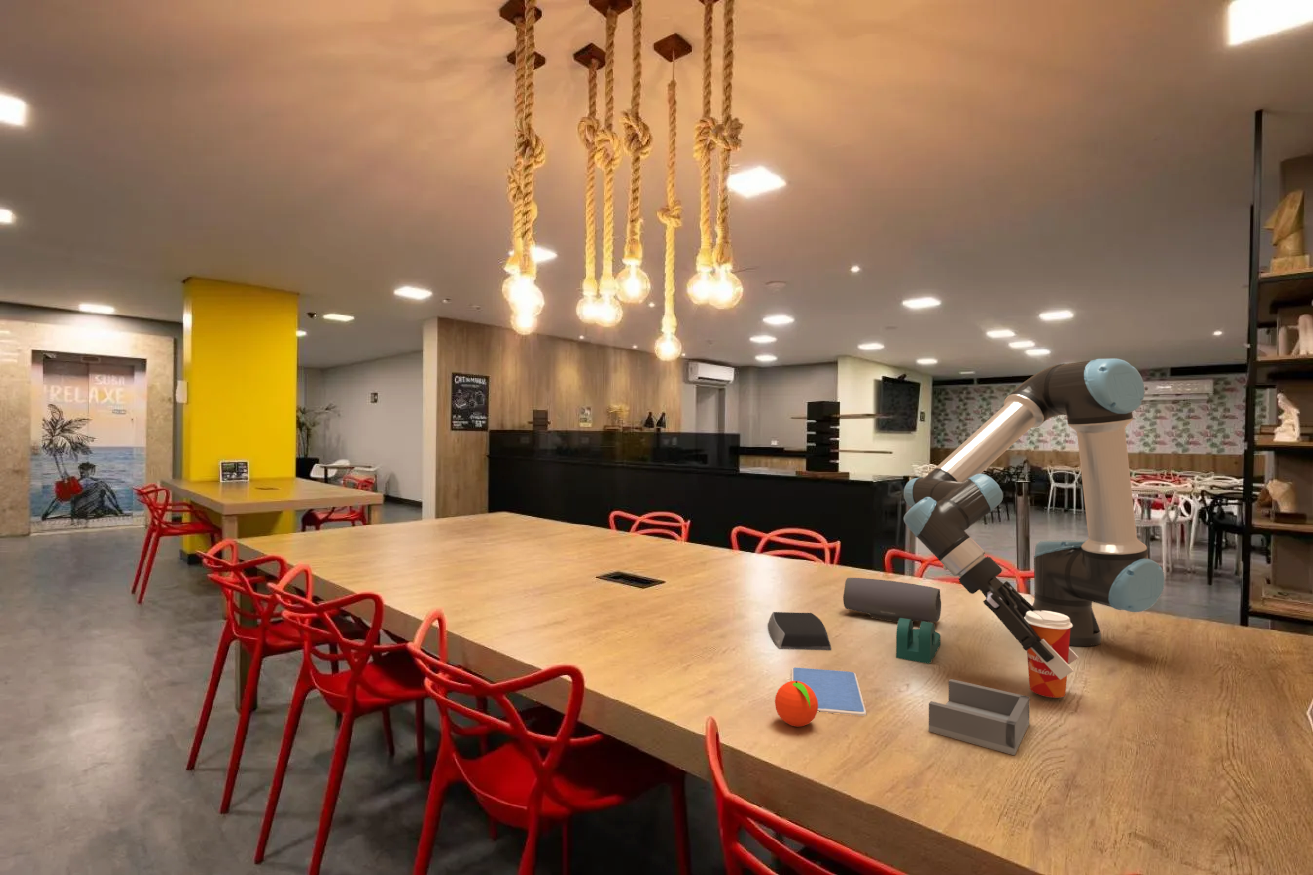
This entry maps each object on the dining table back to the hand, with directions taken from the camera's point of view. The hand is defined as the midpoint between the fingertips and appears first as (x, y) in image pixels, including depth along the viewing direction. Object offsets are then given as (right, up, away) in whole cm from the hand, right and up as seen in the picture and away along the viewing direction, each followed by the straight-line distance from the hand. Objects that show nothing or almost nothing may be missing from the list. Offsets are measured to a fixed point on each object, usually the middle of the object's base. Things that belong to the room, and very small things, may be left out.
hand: (1069, 667), depth 114 cm
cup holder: (-22, -6, -10) cm, 25 cm away
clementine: (-51, -6, -10) cm, 52 cm away
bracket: (-15, -6, +28) cm, 33 cm away
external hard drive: (-41, -6, +37) cm, 55 cm away
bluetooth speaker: (-13, -6, +51) cm, 53 cm away
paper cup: (-3, -5, +2) cm, 6 cm away
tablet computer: (-43, -7, +4) cm, 43 cm away
